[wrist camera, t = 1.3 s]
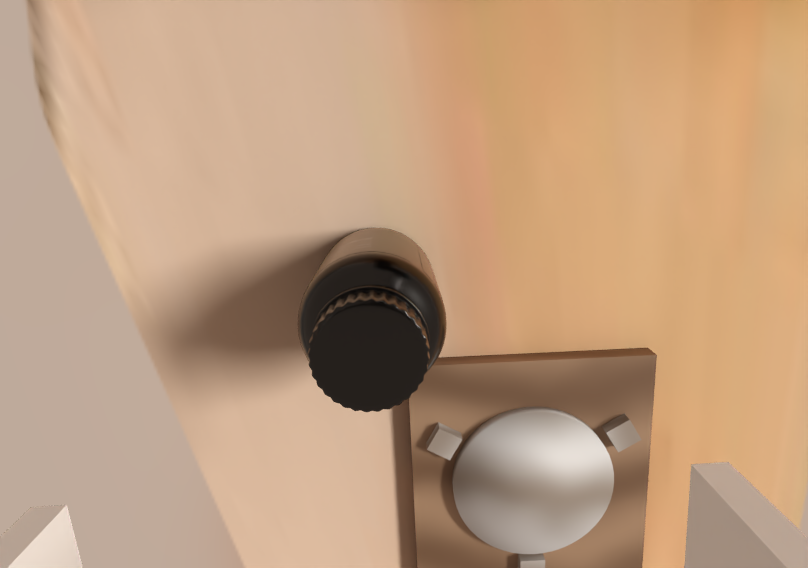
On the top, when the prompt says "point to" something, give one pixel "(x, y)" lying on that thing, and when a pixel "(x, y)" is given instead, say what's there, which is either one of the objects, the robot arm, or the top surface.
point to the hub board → (533, 459)
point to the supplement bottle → (372, 320)
